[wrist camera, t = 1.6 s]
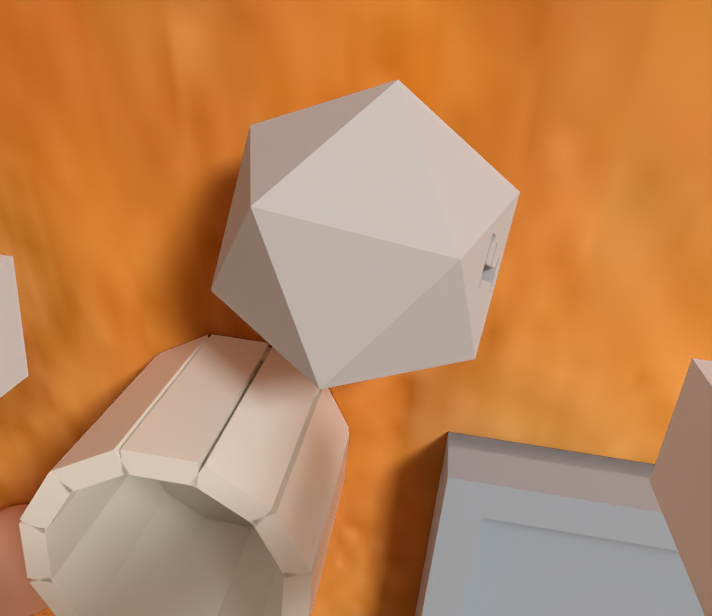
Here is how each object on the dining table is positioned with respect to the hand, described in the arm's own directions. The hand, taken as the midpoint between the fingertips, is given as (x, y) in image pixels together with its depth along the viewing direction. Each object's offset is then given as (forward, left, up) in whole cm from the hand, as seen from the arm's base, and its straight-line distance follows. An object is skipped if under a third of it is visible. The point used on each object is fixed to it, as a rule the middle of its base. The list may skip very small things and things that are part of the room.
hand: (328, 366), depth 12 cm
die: (0, 0, -12) cm, 12 cm away
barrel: (-5, -11, -12) cm, 17 cm away
